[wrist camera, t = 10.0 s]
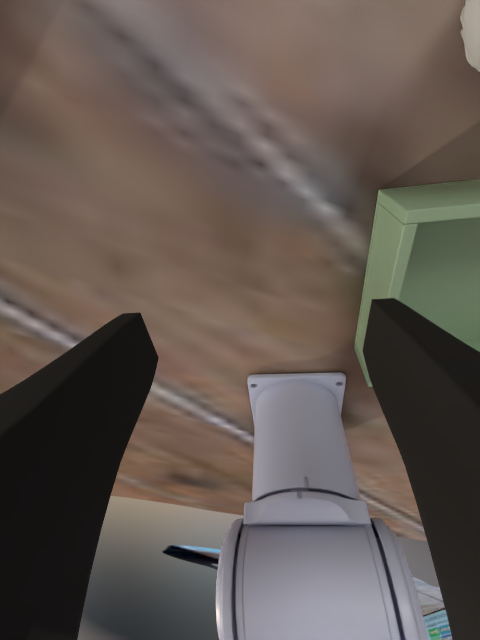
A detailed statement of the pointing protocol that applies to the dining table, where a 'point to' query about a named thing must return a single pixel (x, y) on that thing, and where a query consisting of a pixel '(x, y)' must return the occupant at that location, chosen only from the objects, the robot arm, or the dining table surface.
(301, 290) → the dining table surface
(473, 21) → the cream rounded lump
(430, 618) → the gum box
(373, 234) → the tote
